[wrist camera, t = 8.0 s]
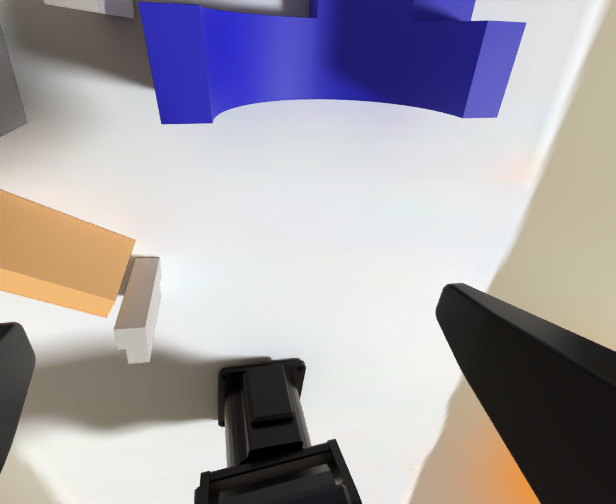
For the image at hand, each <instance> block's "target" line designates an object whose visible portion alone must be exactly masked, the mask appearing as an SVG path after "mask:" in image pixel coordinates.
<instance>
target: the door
mask: <svg viewBox="0 0 616 504" xmlns="http://www.w3.org/2000/svg"><path fill="white" fill-rule="evenodd" d="M135 241H136V240H133V239H130V238H128V237H125V236H122V235H120V234H117V233H114V232H112V231H109V230H106V229H104V228H101V227H98V226H96V225H93V224H90V223H88V222H85V221H82V220H80V219H77V218H74V217H72V216H69V215H66V214H64V213H61V212H58V211H56V210H53V209H50V208H48V207H45V206H42V205H40V204H37V203H34V202H32V201H29V200H26V199H24V198H21V197H18V196H16V195H13V194H10V193H8V192H5V191H2V190H0V290H1V291H5V292H9V293H12V294H16V295H20V296H24V297H28V298H32V299H35V300H39V301H43V302H47V303H51V304H55V305H58V306H62V307H66V308H70V309H74V310H78V311H82V312H85V313H89V314H93V315H97V316H101V317H105V318H107V316H108V314H109V312H110V310H111V308H112V306H113V304H114V302H115V300H116V297H117V294H118V291H119V288H120V285H121V282H122V279H123V276H124V273H125V270H126V267H127V265H128V262H129V259H130V256H131V253H132V250H133V247H134V244H135Z"/></svg>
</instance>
